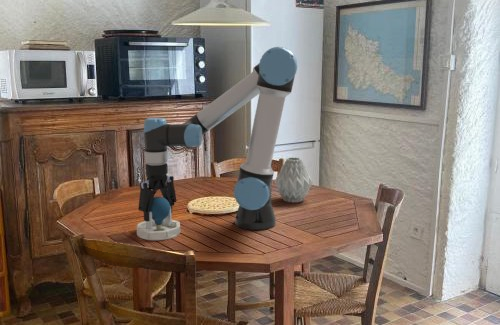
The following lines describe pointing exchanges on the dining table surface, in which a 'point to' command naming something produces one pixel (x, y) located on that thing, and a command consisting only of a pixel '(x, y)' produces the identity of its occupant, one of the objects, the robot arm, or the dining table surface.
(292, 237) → the dining table surface
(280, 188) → the vase
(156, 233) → the lamp base
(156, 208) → the light bulb
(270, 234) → the dining table surface
